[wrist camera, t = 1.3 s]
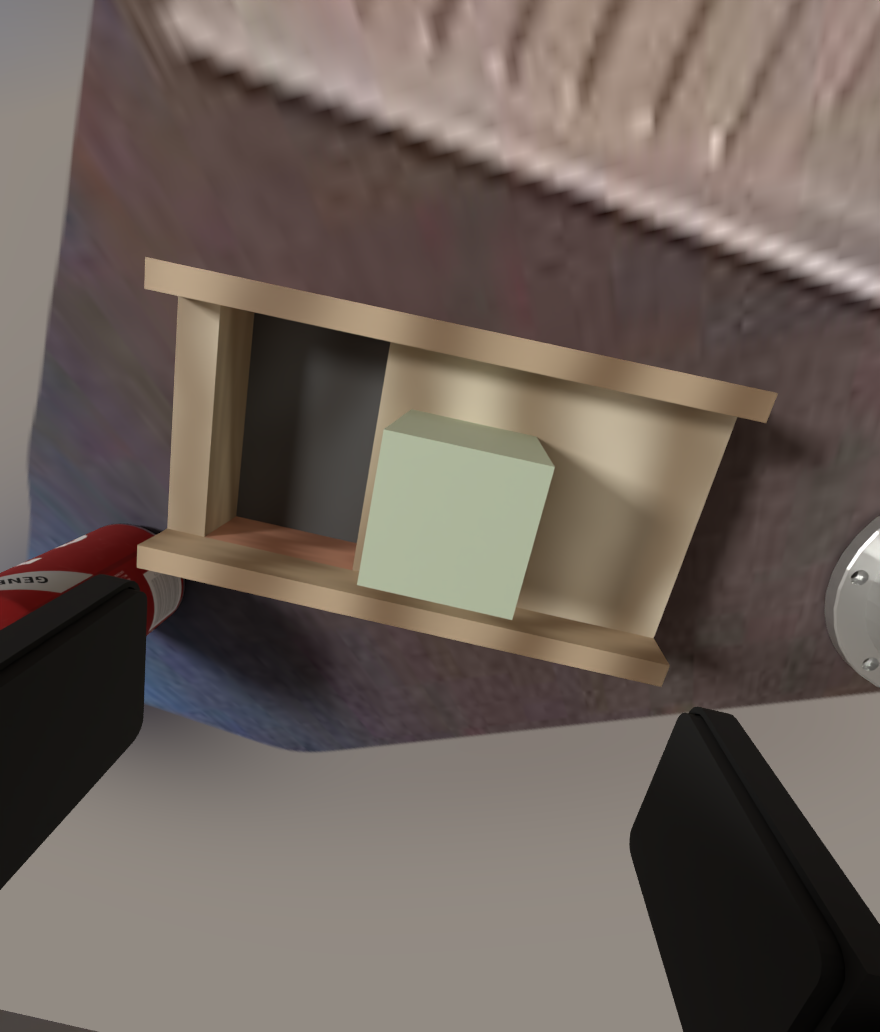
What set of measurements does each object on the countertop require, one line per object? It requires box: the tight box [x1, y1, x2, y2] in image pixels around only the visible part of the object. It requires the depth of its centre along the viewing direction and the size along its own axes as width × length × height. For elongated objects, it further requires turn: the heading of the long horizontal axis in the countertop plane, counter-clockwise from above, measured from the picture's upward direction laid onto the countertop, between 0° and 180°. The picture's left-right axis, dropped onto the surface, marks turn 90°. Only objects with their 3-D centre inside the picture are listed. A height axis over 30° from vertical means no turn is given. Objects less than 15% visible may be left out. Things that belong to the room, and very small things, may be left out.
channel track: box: [137, 257, 778, 687], centre depth 26 cm, size 26×14×6 cm, turn 78°
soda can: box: [0, 524, 185, 636], centre depth 27 cm, size 7×7×12 cm
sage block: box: [357, 409, 555, 620], centre depth 22 cm, size 6×6×7 cm
